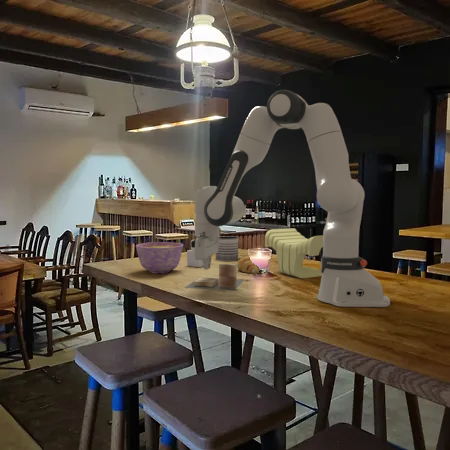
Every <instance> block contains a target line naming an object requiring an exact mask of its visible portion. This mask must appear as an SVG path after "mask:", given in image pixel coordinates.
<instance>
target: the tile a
mask: <svg viewBox="0 0 450 450" xmlns="http://www.w3.org/2000/svg"><path fill="white" fill-rule="evenodd" d="M218 279H219V277H202V276H201V277H198V278H196V279H195V280H194V281H193V282H194V286H209V287H213V286H214V285H216V284H217V283H218Z"/></svg>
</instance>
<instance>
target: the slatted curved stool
mask: <svg viewBox="0 0 450 450" xmlns="http://www.w3.org/2000/svg"><path fill="white" fill-rule="evenodd" d="M265 247H266V248H268V247H269V248H272V249H273V250H274V251H275V253H276V260H277V269H278V272H279V273H280V274H284V275H288V276H291V277H292V276H293V277H295V278H300V279H306V278H307V279H309V278H317V277H322V272H321V269H319V268H315V267H311V266H303V265H304V264H303V263H304V260H305V258H306V256H307V255H308V256H309V257H313V256H319V255H320V251H321V249H323V234H322V235H314V236H312V237H310V238H306V237H305V236H304V235H302V234H301V232H298V230H297V229H296V228H295V227H294V228H273V229H269V230H267V232H266V233H265V236H264V248H265Z"/></svg>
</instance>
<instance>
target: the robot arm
mask: <svg viewBox="0 0 450 450" xmlns="http://www.w3.org/2000/svg"><path fill="white" fill-rule="evenodd" d="M279 130H282V131H299V130H303V132H304V135H305V137H306V141H307V144H308V149H309V151H310V155H311V159H312V163H313V167H314V173H315V184H316V189H317V191H316V201H317V203H318V205H319V207H321V209H323V210H324V211H326V212H327V217H326V222H325V225H324V228H323V232H322V233H323V234H322V235H323V247H322V255H321V257H320V270H321V272H322V276H320V277H321V278H320V284H319V290H318V294H317V296H316V299H317V300H318V301H320V302H323V303H327V304H331V305H333V306H336V307H345V308H346V307H354V308H356V307H357V308H358V307H359V308H363V307H364V308H365V307H367V308H368V307H369V308H370V307H371V308H373V307H374V308H386V307H389V306H391V299H390V298H389V297H388V296H387V295H385V294H384V290H383V289H384V288H383V285H382V283H381V281H380V280H379V279H378V278H376V277H375V276H374V275H373V274H371V273H370V272H369V271H368V270H367V269H366V268H365V267H366V266H367V265H368V261H367V260H366V259H364V258H363V257H360V256H359V252H360V251H359V250H360V249H359V245H360V244H359V243H360V242H359V241H360V228H361V227H360V226H361V221H362V215H363V207H364V200H365V196H366V195H365V190H364V188H363V186H362V185H361V184H360V182H359V181H357V180H356V179H353V178H352V175H351V170H350V163H349V160H350V159H349V158H350V157H349V156H350V155H349V152H348V148H347V145H346V142H345V138H344V136H343V132H342V129H341V126H340V124H339V120H338V118H337V116H336V114H335V112H334V110H333V108H332V107H331V106H330V104H328V103H325V102H317V103H314V104H311V105H310V104H309V103H308V102H307V101H306V100H305V99H304V98H303V97H302V96H300V95H299V94H298V93H295V92H293V91H291V90H288V89H280V90H277V91H275V92H273V93H272V94H271V96H270V97H269V98H268V100H267V104H266V106H264V105H263V106H262V105H261V106H260V105H259V106H255V107H254V108H252V109H251V110H250V112H249V114H248V116H247V117H246V119H245V121H244V123H243V126H242V128H241V130H240V133H239V134H238V135H239V136H238V139H237V141H236V144H235V146H234V148H233V151H232V154H231V157H229V160H228V162H227V164H226V166H225V169H224V170H223V173H222V176H221V178H220V180H219V183H218V184H217V186H216V185H209V186H203V187H200V188H198V189H197V190H196V192H195V195H194V196H195V197H194V213H195V219H194V237H197V238H195V240H196V241H195V260H202V261H203V265H204V266H203V270H206V271H207V270H209V269H211V262H212V259H213V256H214V255H216V253H218V249H219V236H220V235H221V234H222V232H221V231H222V229H221V228H220V227H223V226H224V225H228V224H232V223H235V222H237V221H239V220H241V219H242V218H243V217H244V215H245V213H246V207H245V204H244V201H243V199H242V198H240V197H238V196H235V194H236V193H237V190H238V188H239V185H240V184H241V182H242V179H243V177H244V176H245V174H246V173H248V171H249V170H251V169H252V168H255V166H258V165H259V164H260V163H262V162H263V160H264V159H265V158H266V155H267V154H268V153H269V152H268V151H269V149H270V147H271V144H272V141H273V139H274V136H275V134H276V132H277V131H279Z"/></svg>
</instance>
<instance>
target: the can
mask: <svg viewBox="0 0 450 450" xmlns="http://www.w3.org/2000/svg"><path fill="white" fill-rule="evenodd" d="M215 260H217V261H223V262H232V261H237V260H238V261H239V236H235V235H234V236H233V235H231V236H228V235H227V236H222V235H221V236H220V235H219V249H218V253H216V254H215Z"/></svg>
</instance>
